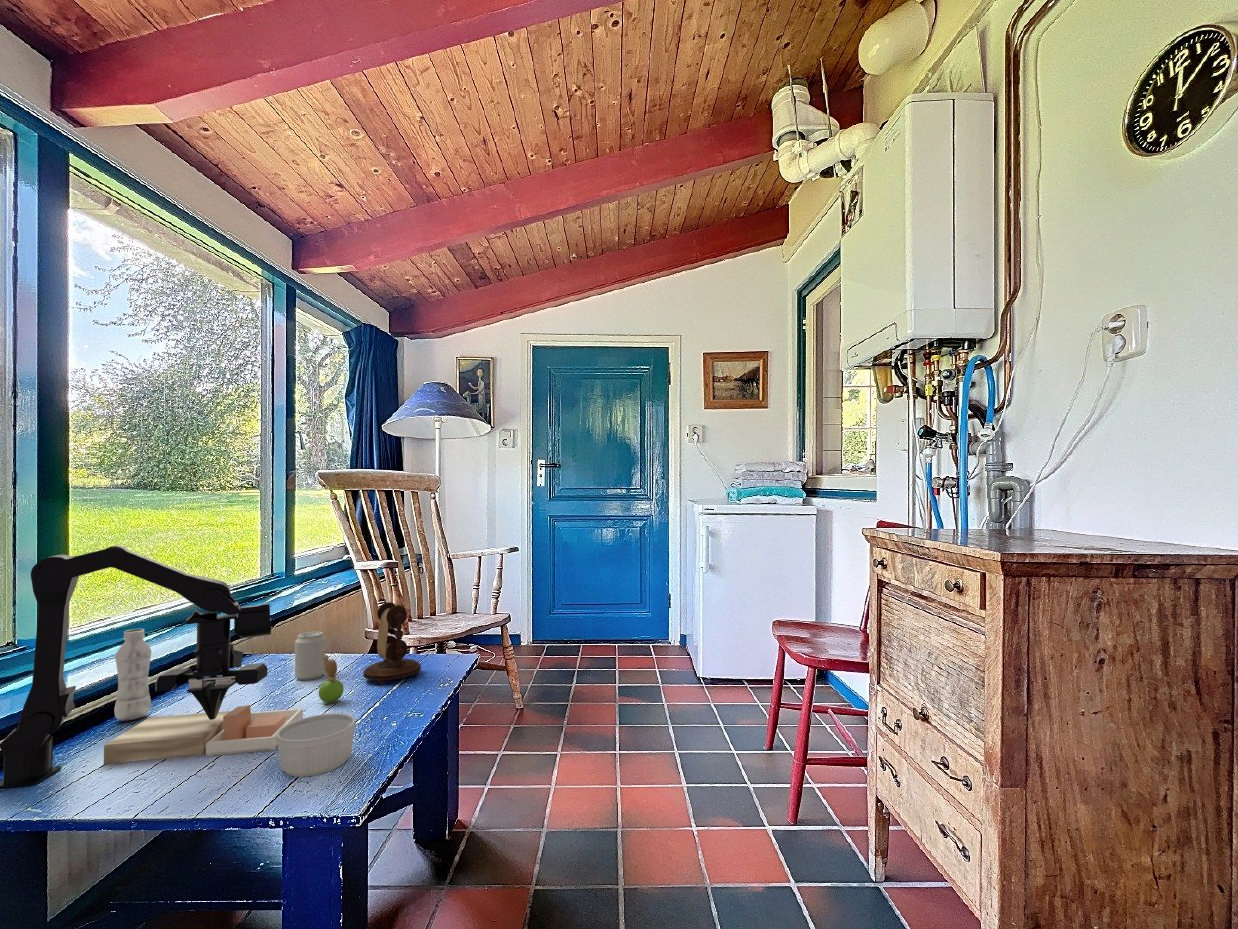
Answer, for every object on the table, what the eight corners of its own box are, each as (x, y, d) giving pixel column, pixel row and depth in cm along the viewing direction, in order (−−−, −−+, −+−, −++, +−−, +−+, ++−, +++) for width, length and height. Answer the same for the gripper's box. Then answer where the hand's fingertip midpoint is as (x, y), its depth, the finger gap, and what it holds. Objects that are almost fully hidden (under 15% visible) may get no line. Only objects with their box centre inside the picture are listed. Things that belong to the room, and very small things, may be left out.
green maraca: (335, 696, 146) (335, 647, 146) (347, 701, 142) (347, 651, 142) (312, 702, 142) (313, 652, 142) (324, 708, 138) (324, 656, 138)
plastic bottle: (130, 725, 130) (132, 634, 131) (105, 723, 131) (107, 633, 132) (158, 714, 136) (160, 627, 137) (135, 713, 137) (136, 627, 138)
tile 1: (225, 744, 117) (238, 742, 117) (223, 716, 117) (236, 714, 118) (239, 733, 122) (252, 731, 123) (237, 706, 123) (250, 705, 123)
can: (296, 675, 164) (296, 632, 165) (325, 671, 167) (325, 629, 168) (293, 683, 157) (294, 637, 158) (324, 678, 160) (324, 634, 161)
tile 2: (246, 727, 119) (245, 739, 119) (275, 725, 120) (275, 737, 120) (257, 717, 124) (257, 729, 124) (285, 715, 125) (285, 727, 125)
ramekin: (258, 779, 103) (258, 739, 103) (307, 747, 116) (307, 711, 116) (327, 782, 101) (327, 741, 102) (369, 749, 114) (369, 713, 115)
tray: (273, 750, 115) (273, 737, 115) (205, 756, 113) (206, 743, 113) (302, 719, 130) (302, 708, 131) (244, 724, 128) (244, 713, 129)
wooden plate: (202, 754, 113) (203, 736, 114) (103, 763, 111) (104, 744, 111) (236, 726, 127) (237, 710, 127) (149, 734, 124) (149, 717, 125)
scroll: (355, 677, 161) (355, 604, 162) (408, 666, 171) (407, 597, 172) (374, 690, 150) (374, 611, 151) (429, 677, 160) (429, 603, 161)
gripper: (278, 630, 131) (277, 701, 130) (185, 636, 127) (184, 709, 127) (256, 643, 120) (255, 720, 119) (154, 649, 116) (153, 729, 116)
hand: (212, 719), depth 120 cm, fingers closed
